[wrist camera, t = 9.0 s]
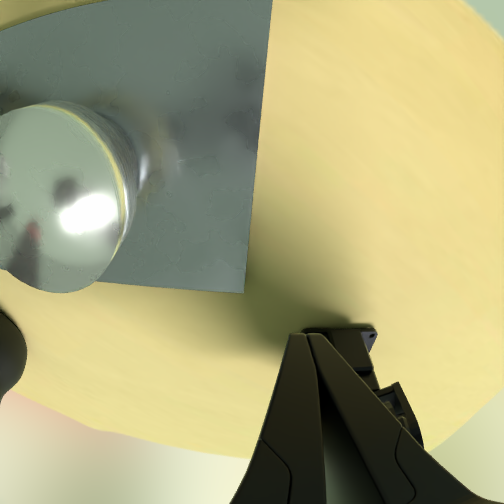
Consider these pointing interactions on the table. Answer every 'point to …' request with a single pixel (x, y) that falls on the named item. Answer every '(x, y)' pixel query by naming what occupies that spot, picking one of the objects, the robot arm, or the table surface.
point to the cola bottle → (10, 355)
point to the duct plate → (161, 121)
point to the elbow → (62, 195)
